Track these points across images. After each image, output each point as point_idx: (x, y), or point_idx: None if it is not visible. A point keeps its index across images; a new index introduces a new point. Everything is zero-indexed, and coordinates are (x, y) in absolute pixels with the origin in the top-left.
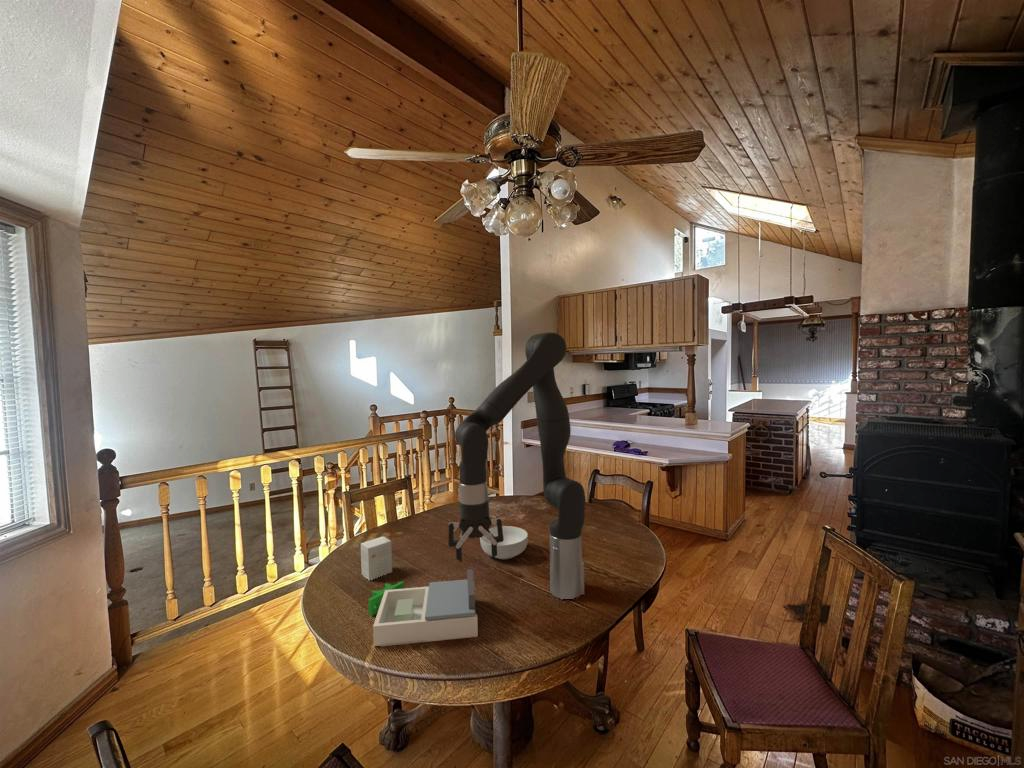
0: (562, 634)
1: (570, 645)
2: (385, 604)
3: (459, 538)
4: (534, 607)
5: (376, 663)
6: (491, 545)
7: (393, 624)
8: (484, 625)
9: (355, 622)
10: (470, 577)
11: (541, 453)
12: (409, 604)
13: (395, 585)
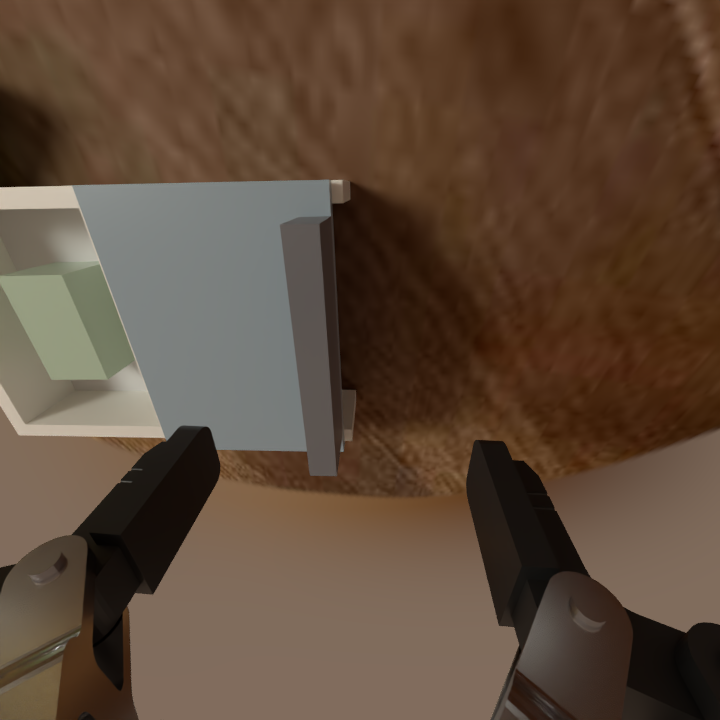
0: (603, 426)
1: (598, 463)
2: None
3: (16, 662)
4: (590, 280)
5: (116, 446)
6: (501, 590)
7: (79, 435)
8: (379, 355)
9: None
10: (309, 331)
11: None
12: (70, 320)
13: None
